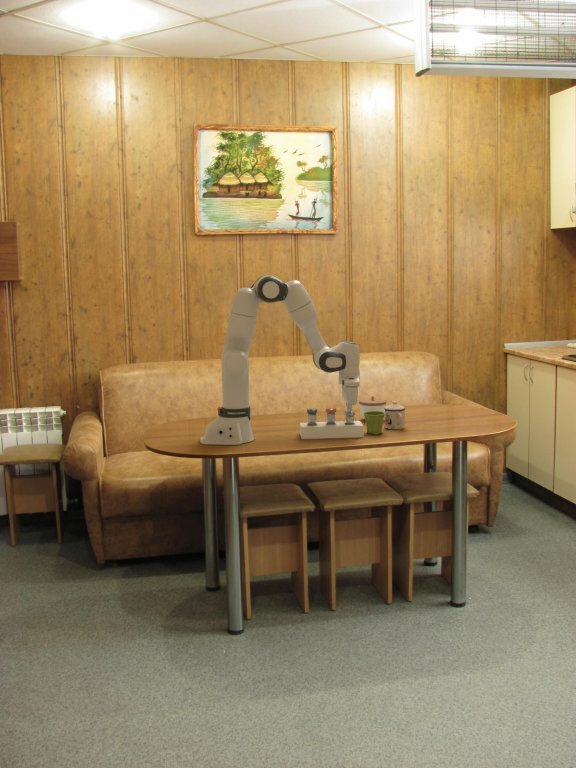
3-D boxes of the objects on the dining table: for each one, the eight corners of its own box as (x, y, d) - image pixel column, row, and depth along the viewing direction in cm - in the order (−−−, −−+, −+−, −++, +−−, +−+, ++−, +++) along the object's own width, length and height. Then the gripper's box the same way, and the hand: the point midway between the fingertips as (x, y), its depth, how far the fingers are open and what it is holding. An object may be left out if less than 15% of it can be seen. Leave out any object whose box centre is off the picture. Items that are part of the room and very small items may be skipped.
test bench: (301, 439, 337) (301, 427, 336) (299, 434, 347) (299, 422, 346) (363, 437, 338) (363, 425, 338) (359, 432, 348) (359, 420, 347)
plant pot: (368, 435, 341) (368, 415, 339) (360, 431, 350) (359, 411, 348) (388, 434, 343) (388, 414, 342) (380, 429, 352) (380, 410, 351)
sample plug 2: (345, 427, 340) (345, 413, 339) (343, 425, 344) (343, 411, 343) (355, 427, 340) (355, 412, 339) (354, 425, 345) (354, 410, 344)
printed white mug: (381, 426, 360) (381, 400, 358) (399, 424, 362) (400, 399, 360) (391, 431, 348) (391, 405, 346) (411, 430, 351) (411, 403, 349)
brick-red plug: (326, 424, 339) (326, 410, 338) (325, 422, 344) (325, 408, 343) (336, 424, 340) (336, 409, 339) (335, 422, 344) (335, 407, 343)
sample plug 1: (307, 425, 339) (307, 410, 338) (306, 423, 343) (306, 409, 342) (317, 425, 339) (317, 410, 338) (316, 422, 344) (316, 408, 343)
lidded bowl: (362, 423, 367) (362, 399, 366) (356, 417, 380) (356, 394, 378) (389, 421, 369) (389, 398, 367) (382, 416, 381) (382, 393, 380)
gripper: (338, 376, 349) (338, 407, 351) (344, 383, 329) (344, 416, 331) (353, 375, 350) (353, 407, 352) (360, 382, 330) (360, 416, 332)
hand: (349, 411), depth 341 cm, fingers closed, pressing on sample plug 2
